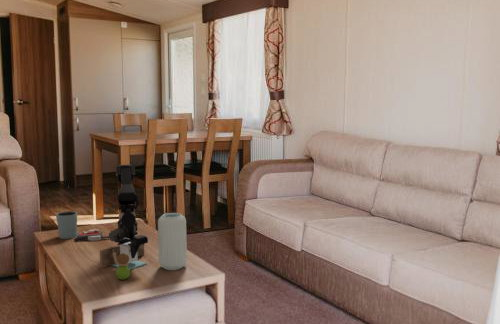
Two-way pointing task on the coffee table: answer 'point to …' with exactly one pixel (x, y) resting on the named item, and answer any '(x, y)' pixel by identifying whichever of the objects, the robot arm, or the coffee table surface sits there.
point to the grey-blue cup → (67, 224)
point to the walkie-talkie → (90, 235)
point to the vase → (172, 241)
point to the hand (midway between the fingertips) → (129, 256)
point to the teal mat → (132, 264)
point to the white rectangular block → (127, 251)
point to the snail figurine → (122, 265)
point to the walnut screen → (108, 257)
